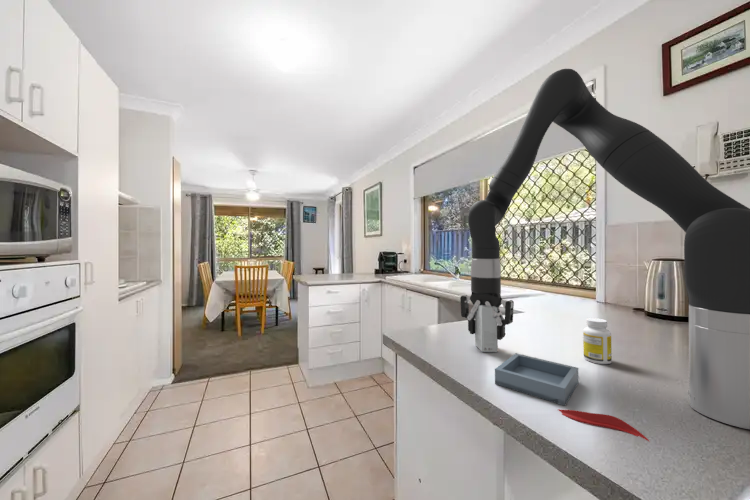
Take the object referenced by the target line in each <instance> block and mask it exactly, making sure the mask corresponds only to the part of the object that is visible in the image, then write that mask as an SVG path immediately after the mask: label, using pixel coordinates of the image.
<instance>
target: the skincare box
mask: <svg viewBox="0 0 750 500" xmlns="http://www.w3.org/2000/svg"><path fill="white" fill-rule="evenodd" d="M492 307H493V309H494V310H495V311H496V313H497V307H495V306H492ZM492 307H490V306H486V305H479V307H478V311H476V314H475V318H474V320H475V334H474V345H475V347H477V348H478V349H479V351H480V352H482V353H498V347H499V346H498V345H499V344H498V342H499V341H498V339H497V325H498V324H497V322H496V320H495V318H493V316H492Z"/></svg>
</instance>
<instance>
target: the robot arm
mask: <svg viewBox="0 0 750 500" xmlns="http://www.w3.org/2000/svg"><path fill="white" fill-rule="evenodd" d="M552 123H554V124H556V125H557V126H559V127H561V128H562V129H563V130H564V131H566V132H568V133H569V134H571V135H572V136H573V137H574V138H575V139H577V140H579V142H581V145H583V146H584V148H585V149H586V151H587V153H588V154H590V156H591V157H592V158H593V159H594V160H595V161H596V162H597V163H598V164H599V165H600V166H601V167H602V168H603V170H605V171H606V172H607V173H608V174H609V175H610V176H611V177H612V178H614V179H615V180H616V181H617V182H618V183H620V184H621V185H622V186H623V187H625V188H626V189H628V190H629V191H631V192H633V193H634V194H635V195H637V196H638V197H640V198H642V199H644V200H645V201H647V202H649V203H650V204H652V205H654V206H655V207H657V208H658V209H659V210H661V211H663V212H664V213H665V214H666V215H668V216H669V217H670V218H671V219H672V220H673V221H674V222H675V223H676V224H677V225H678V226H679V227H680V228H681V229H682V230H683V231H684V232H685V236H684V240H683V241H684V243H683V253H684V255H683V256H684V261H683V262H684V281H685V282H684V283H685V284H684V285H685V288H686V292H687V296H688V392H687V393H688V404H689V406H690V408H692V409H693V410H695V411H696V412H697V413H700V414H701V415H703V416H705V417H708V418H710V419H712V420H715V421H718V422H720V423H723V424H727V425H730V426H733V427H737V428H740V429H746V430H750V208H749V207H747V206H746V205H745V204H743V203H741V202H739V201H737V200H736V199H734V198H732V197H731V196H730V195H727V194H726V193H725V192H723V191H721V190H719V188H717V187H716V186H714V185H712V183H710V182H709V181H708V180H707V179H706V178H704V176H702V174H700V173H699V172H698V171H697V169H695V168H694V167H693V165H691V163H689V161H688V160H686V158H684V157H683V156H682V155H681V154H680V153H678V151H677V150H675V149H674V148H673V147H672V146H671V145H669V143H667V142H666V141H665V140H663V139H662V138H661V137H659V136H657V135H656V133H654V132H652V131H651V130H649V129H648V128H646V127H644V126H643V125H642V124H639V123H637V122H635V121H633V120H629V119H626V118H624V117H621V116H618V115H616V114H613V113H612V112H610V111H609V110H608V109H607V108H605V107H604V105H602V104H601V103H600V102H599V101H598V100H597V99H596V98H595V97H594V95H592V93H591V92H590V90H589V88H588V87H587V85H586V84H585V82H584V80H583V78H582V76H581V75H580V73H578V71H576V70H575V69H574V68H562V69H559V70H556V71H555V72H553V73H551V74H550V75H548V76H547V78H545V79H544V80H543V82H542V83H541V84H540V86H539V88H538V90H537V91H536V93H535V96H534V98H533V100H532V103H531V105H530V107H529V109H528V111H527V114H526V117H525V118H524V121H523V123H522V125H521V127H520V129H519V131H518V133H517V135H516V138H515V140H514V141H513V143H512V146H511V147H510V149H509V151H508V153H507V155H506V156H505V158H504V159H503V161H502V162H501V164H500V166H499V167H498V169H497V170H496V173H494V176H493V177H492V178H491V180H490V182H489V186H488V187H489V192H488V194H487V195H486V197H485V199H481V200H477V201H475V202H474V203H473V204H472V205H471V206H470V207H469V211H468V216H467V218H468V219H467V220H468V229H469V234H470V239H471V265H470V280H471V281H470V290H471V294H470V295H467V294H464V295H461V296H460V297H459V299H460V300H459V301H460V314H461V318H465V319H466V320H467V329H468V332H469V334H470V335H475V314H476V311H478V307H479V305H486V306H490V307H492V306H495V307H497V313H496V311H495V310H494V309H493V307H492V316H493V318H495V320H496V322H497V324H498V325H497V339H498V340H499V341H501V340H503V338H505V337H506V325H508V326H509V325H510V324H512V323H513V322H514V309H515V308H514V306H515V303H514V301H513V300H512V299H510V300H507V299H502V296H501V295H502V294H501V293H502V287H501V285H502V281H501V279H502V275H501V272H502V271H501V269H502V268H501V261H500V259H501V257H500V256H501V255H500V252H501V251H500V250H501V249H500V240H499V238H498V237H497V235H496V233H497V232H496V226H497V225H498V224H499V223H500V222H501V221H502V220H503V218H504V217H505V215H506V213H507V212H508V209H509V207H510V205H511V203H512V201H513V198H514V196H515V195H516V193H517V192H518V191H519V189H520V188H521V186H522V184H524V182H525V181H526V179H527V178H528V176H529V174H530V173H531V170H532V168H533V166H534V164H535V161H536V158H537V156H538V152H539V149H540V146H541V144H542V142H543V139H544V137H545V135H546V133H547V131H548V130H549V128H550V126H551V125H552ZM470 302H471V304H472V305H473V306H472V307H471V309H470V305H469V304H470ZM501 305H502V306H503V309H504V316H503V313H502V311H501V309H500V306H501Z"/></svg>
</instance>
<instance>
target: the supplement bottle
mask: <svg viewBox="0 0 750 500" xmlns="http://www.w3.org/2000/svg"><path fill="white" fill-rule="evenodd" d="M586 325H587V326H586V327H584V328H583V331H582V333H583V334H582V336H583V337H582V338H583V340H582V341H583V346H582V347H583V358H584V359H585V361H588V362H590V363H594V364H599V365H609V364H611V363H612V360H613V359H612V354H613V353H612V332H611V330H609V329H607V328H608V320H606V319H602V318H598V317H597V318H595V317H594V318H593V317H589V318H588V317H587V318H586Z"/></svg>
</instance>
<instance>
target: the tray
mask: <svg viewBox="0 0 750 500" xmlns="http://www.w3.org/2000/svg"><path fill="white" fill-rule="evenodd" d="M494 384H495V385H496V386H500V387H503V388H507V389H510V390H513V391H515V392H519V393H522V394H525V395H529V396H533V397H535V398H539V399H542V400H545V401H549V402H551V403H555V404H558V405H560V406H564V407H566V405H567V403H568V401H569V400H570V398H571V397H572V395H573V393H574V391H575V390H576V387H577V386H578V384H579V367H576V366H572V365H568V364H564V363H559V362H555V361H550V360H546V359H542V358H539V357H533V356H528V355H524V354H521V353H514V354H513V355H511V356H510V357H509V358H508V359H506V360H505V361H503V362H502V363H501V364H499V365H498V366H497V367H495V368H494Z"/></svg>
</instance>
